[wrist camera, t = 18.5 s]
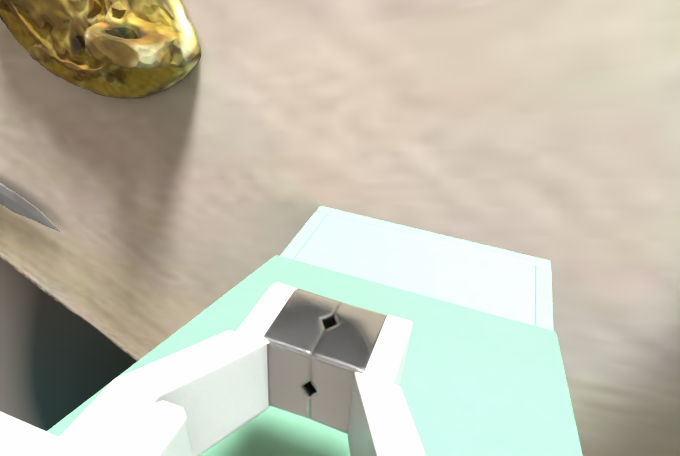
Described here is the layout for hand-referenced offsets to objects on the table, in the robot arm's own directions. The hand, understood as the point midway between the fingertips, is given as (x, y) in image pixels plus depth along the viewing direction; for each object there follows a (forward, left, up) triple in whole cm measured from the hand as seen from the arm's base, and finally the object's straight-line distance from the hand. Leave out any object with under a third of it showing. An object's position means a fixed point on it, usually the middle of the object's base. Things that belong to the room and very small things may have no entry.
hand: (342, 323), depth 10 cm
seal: (+21, -2, -17) cm, 27 cm away
